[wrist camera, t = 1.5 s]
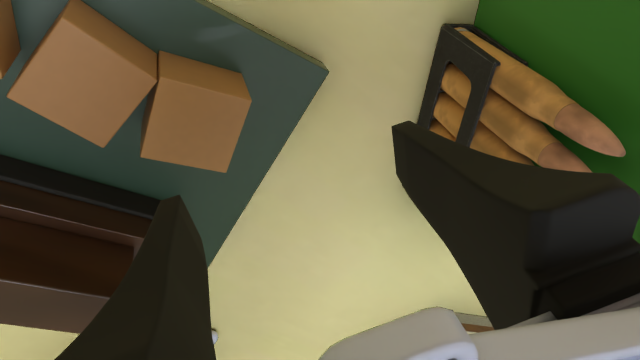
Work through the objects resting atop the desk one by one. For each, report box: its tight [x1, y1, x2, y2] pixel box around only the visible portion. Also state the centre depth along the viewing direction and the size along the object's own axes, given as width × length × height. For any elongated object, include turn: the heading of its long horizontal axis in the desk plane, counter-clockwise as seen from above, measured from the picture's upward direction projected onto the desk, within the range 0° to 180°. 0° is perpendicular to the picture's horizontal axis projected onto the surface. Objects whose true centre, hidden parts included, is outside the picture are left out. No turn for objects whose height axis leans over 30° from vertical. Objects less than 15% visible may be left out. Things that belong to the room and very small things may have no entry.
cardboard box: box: [140, 51, 252, 173], centre depth 21 cm, size 4×4×3 cm
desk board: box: [0, 0, 329, 269], centre depth 21 cm, size 15×20×1 cm
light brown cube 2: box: [7, 0, 157, 148], centre depth 19 cm, size 4×4×3 cm
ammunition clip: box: [402, 24, 626, 186], centre depth 23 cm, size 11×2×12 cm, turn 173°
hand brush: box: [0, 154, 161, 334], centre depth 20 cm, size 4×14×7 cm, turn 57°
